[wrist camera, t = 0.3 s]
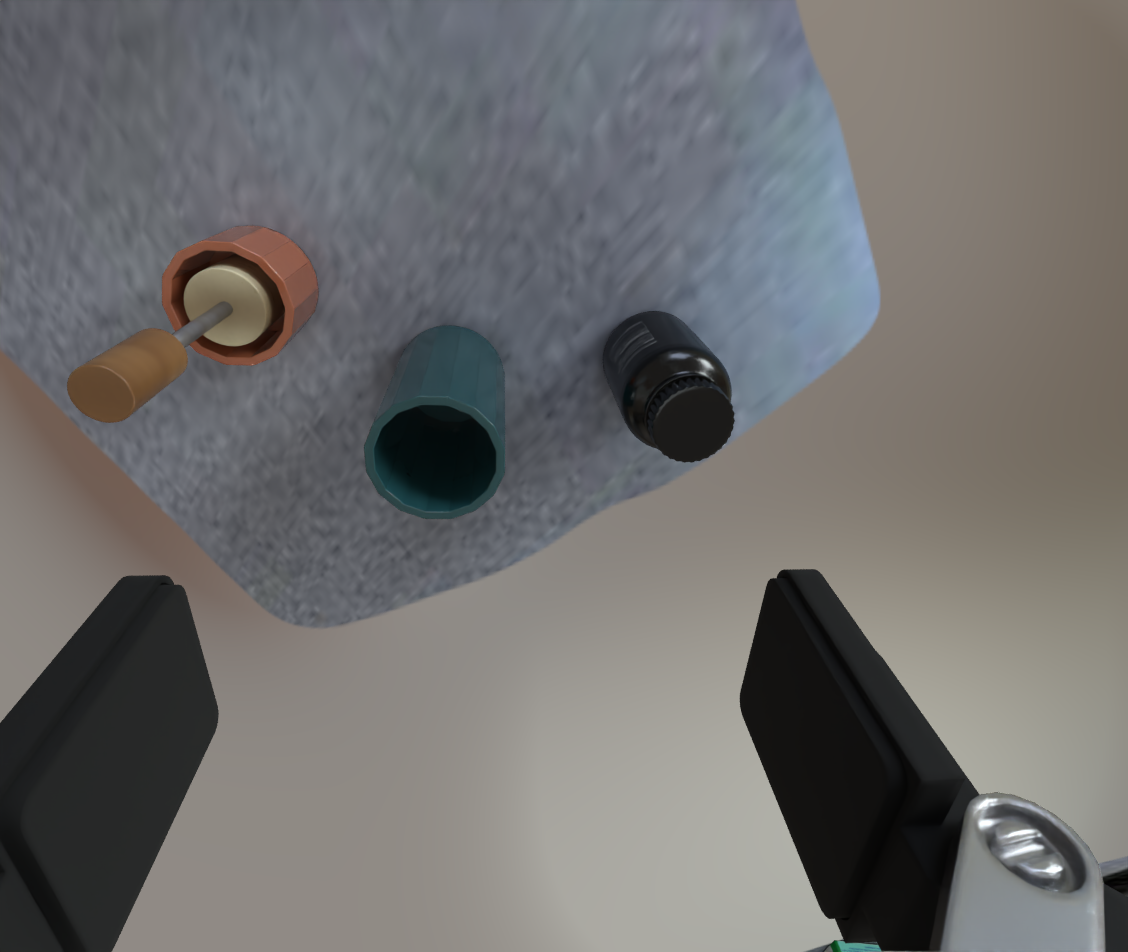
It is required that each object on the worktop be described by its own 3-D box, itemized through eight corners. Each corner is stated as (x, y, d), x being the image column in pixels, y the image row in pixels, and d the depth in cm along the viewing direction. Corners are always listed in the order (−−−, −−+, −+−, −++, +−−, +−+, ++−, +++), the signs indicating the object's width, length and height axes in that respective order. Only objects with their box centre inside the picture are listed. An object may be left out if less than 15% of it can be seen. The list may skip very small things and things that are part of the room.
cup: (395, 323, 44) (358, 394, 33) (505, 327, 45) (506, 398, 34) (401, 423, 48) (370, 518, 36) (503, 425, 49) (503, 519, 37)
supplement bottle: (610, 409, 49) (640, 490, 38) (593, 321, 45) (621, 383, 35) (701, 388, 48) (756, 463, 38) (690, 298, 45) (747, 353, 35)
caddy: (192, 222, 40) (146, 238, 35) (313, 228, 41) (285, 245, 36) (214, 333, 44) (175, 363, 38) (325, 337, 44) (301, 367, 39)
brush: (217, 247, 41) (20, 337, 24) (290, 250, 41) (147, 341, 24) (230, 317, 43) (57, 445, 26) (299, 319, 43) (173, 447, 27)
